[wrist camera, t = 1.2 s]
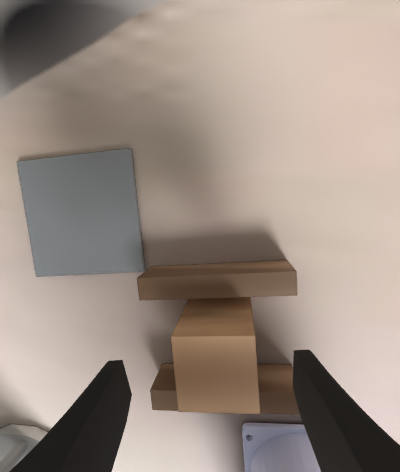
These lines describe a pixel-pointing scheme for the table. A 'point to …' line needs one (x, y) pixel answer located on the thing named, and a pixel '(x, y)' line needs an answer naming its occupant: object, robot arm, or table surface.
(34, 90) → the table surface
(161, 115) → the table surface
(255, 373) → the oak block
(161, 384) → the shelf slot
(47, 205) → the slate mat
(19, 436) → the vase
